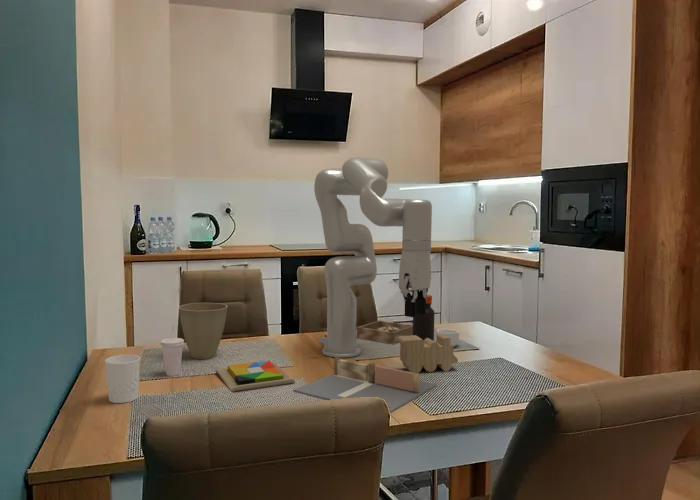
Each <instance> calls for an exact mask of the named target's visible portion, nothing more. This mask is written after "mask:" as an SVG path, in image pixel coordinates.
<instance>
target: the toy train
mask: <svg viewBox="0 0 700 500" xmlns="http://www.w3.org/2000/svg"><path fill="white" fill-rule="evenodd" d="M397 340H398V343H399V344H400V347H399V352H400V353H399V359H400V361H401V363H402V364H401V365H402V366H403V367H404V368H405V369H407V371H408V372H412V373H418V374H420V372H421V371H422V369H424V370H425V371H426V372H429V373H431V372H434V371H436V370H437V367H438V368H439V369H441V370H442V371H445V372H448V371H450V370H451V368H452V365H453V364H457V363H458V362H459V361H458V358H457V357H456V356H455V354H454V347H453V345H451V344H450V337H448V336H446V335H444V334H437V338H436V341H435V340H434V341H433V340H431V339H429V338H426V339H425V340H422V339H421V338H419V337H418V336H416V335H412V336H399V337H397Z"/></svg>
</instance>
